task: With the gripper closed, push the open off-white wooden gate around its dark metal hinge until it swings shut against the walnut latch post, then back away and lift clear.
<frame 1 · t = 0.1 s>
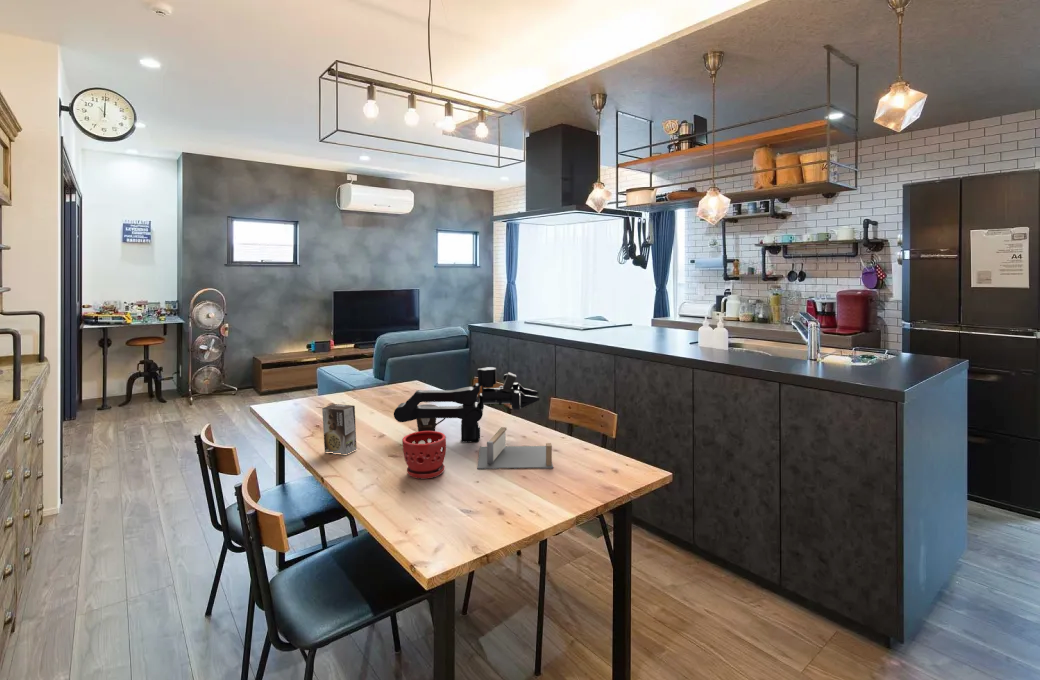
hand: (538, 395, 204), 17 cm above the table, tool horizontal, fingers open, 9 cm apart
gate frame: (514, 457, 186), on the table
coffee box: (340, 452, 192), on the table
gate: (497, 444, 185), point 5 cm above the table, hinge at 75.0°
coffee mug: (430, 433, 214), on the table
plant pot: (425, 474, 171), on the table
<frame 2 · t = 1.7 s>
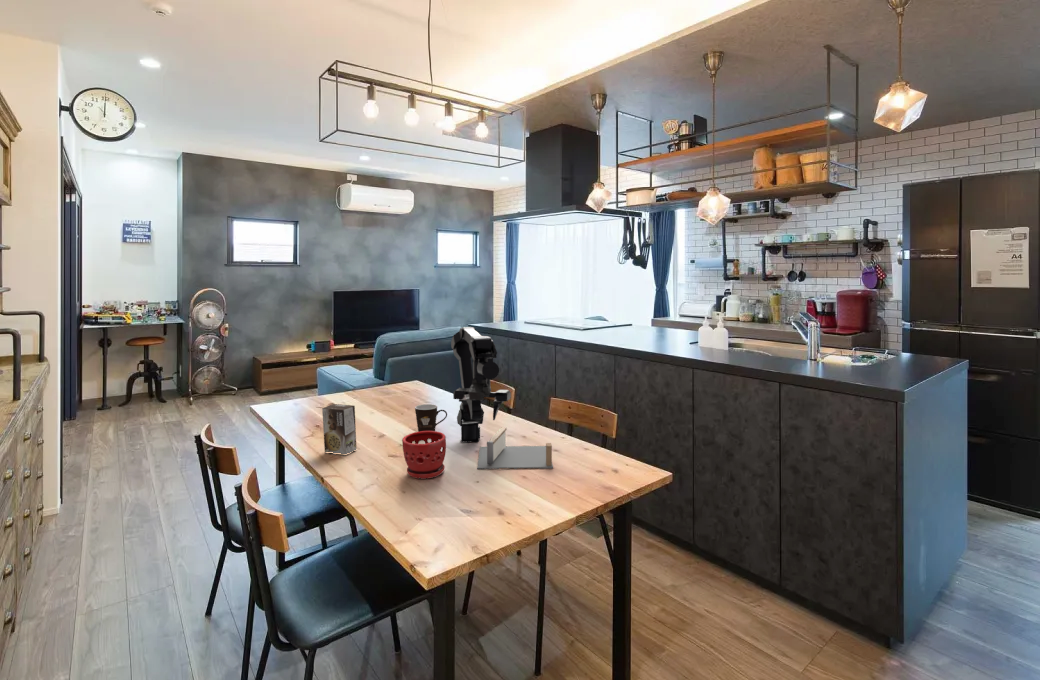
hand: (482, 419, 188), 12 cm above the table, tool pointing down, fingers open, 8 cm apart
nothing on the table moved.
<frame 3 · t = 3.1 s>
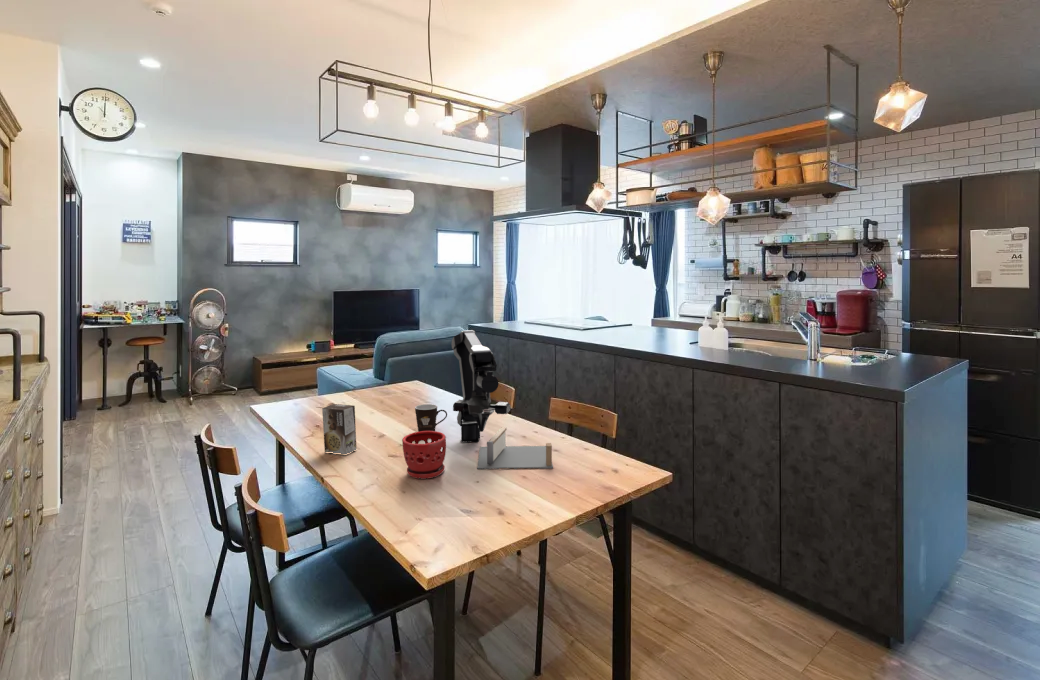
hand: (481, 431, 189), 8 cm above the table, tool pointing down, fingers closed
nothing on the table moved.
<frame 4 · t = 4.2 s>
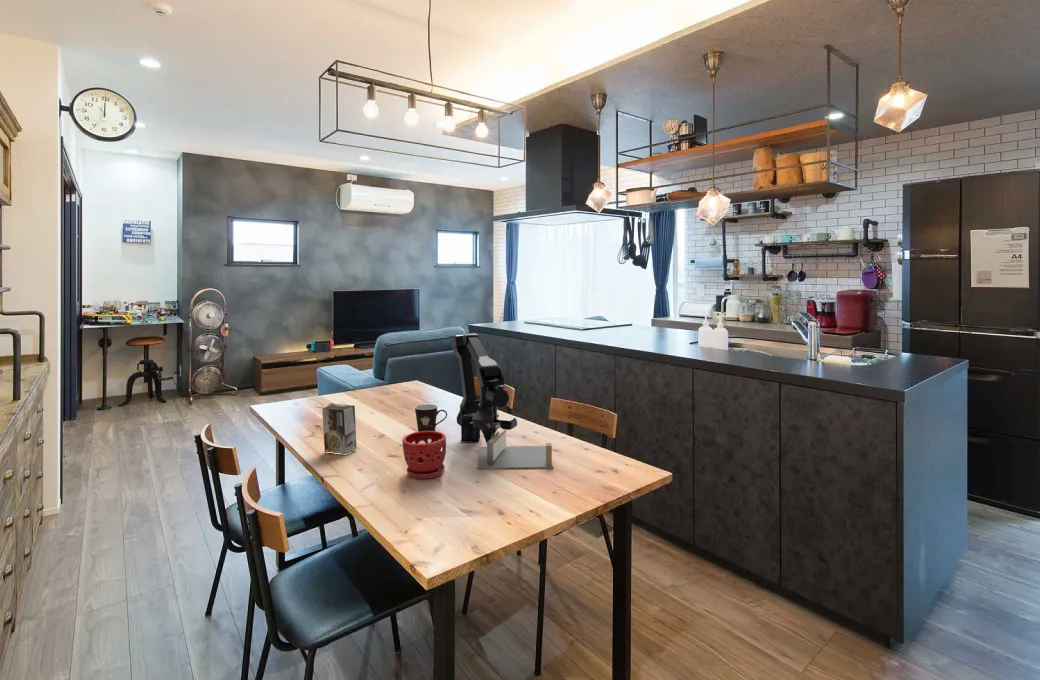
hand: (488, 445, 189), 3 cm above the table, tool pointing down, fingers closed
gate: (497, 444, 185), point 5 cm above the table, hinge at 74.2°, touching gripper
everything else where it was.
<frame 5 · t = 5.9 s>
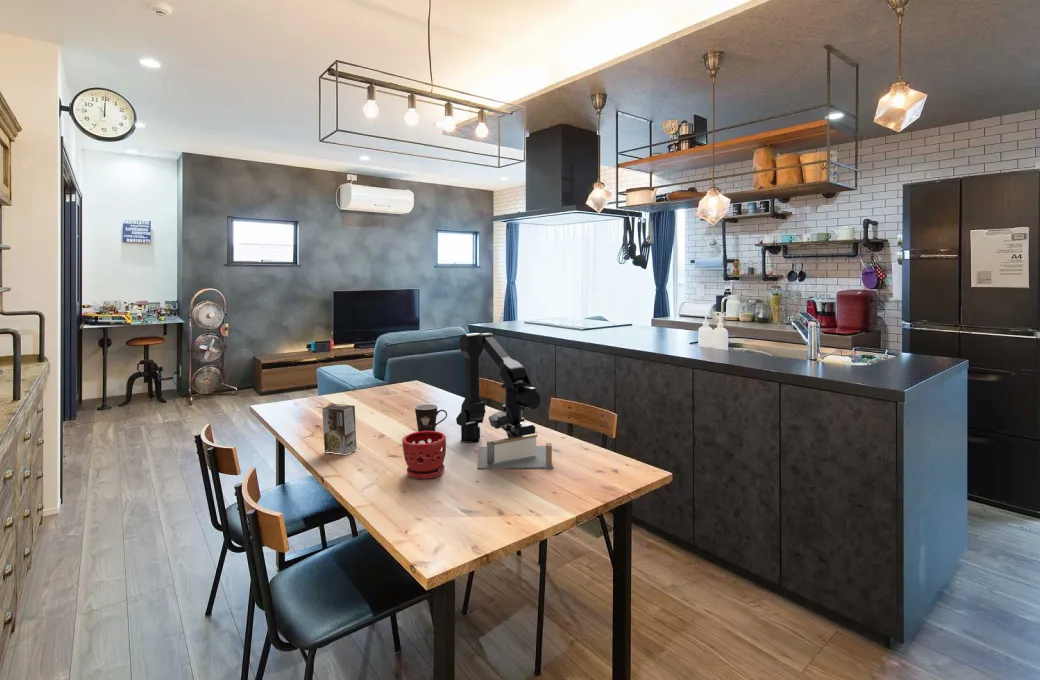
hand: (512, 448, 186), 3 cm above the table, tool pointing down, fingers closed
gate: (512, 448, 181), point 5 cm above the table, hinge at 29.9°, touching gripper
everything else where it was.
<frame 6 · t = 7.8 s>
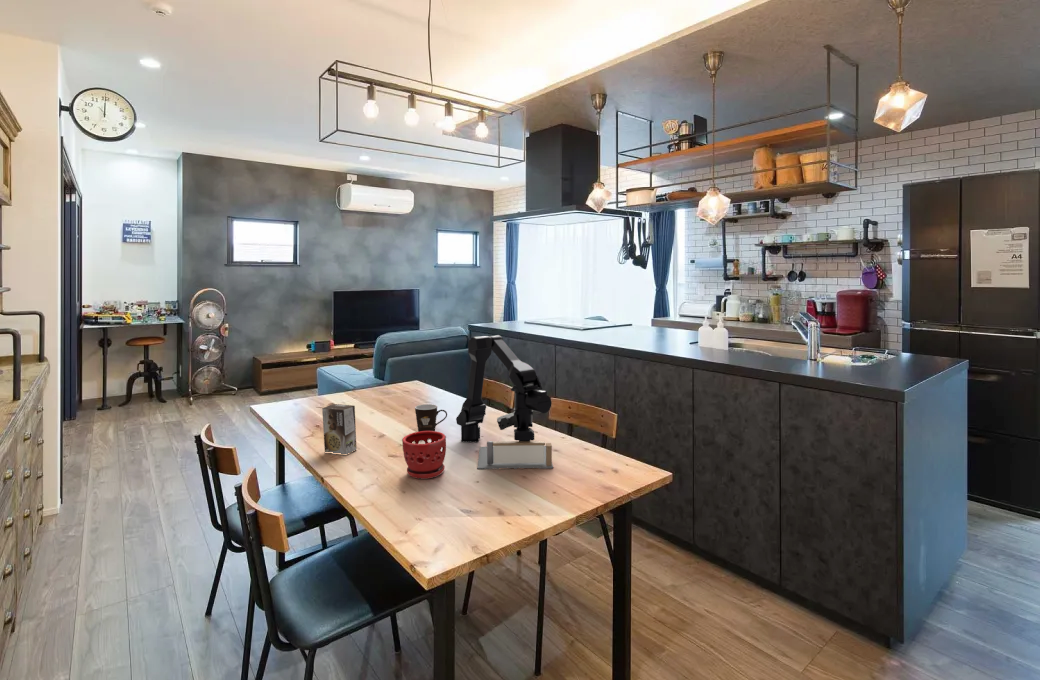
hand: (522, 452, 181), 3 cm above the table, tool pointing down, fingers closed
gate: (516, 452, 177), point 5 cm above the table, hinge at -0.4°, touching gripper
everything else where it was.
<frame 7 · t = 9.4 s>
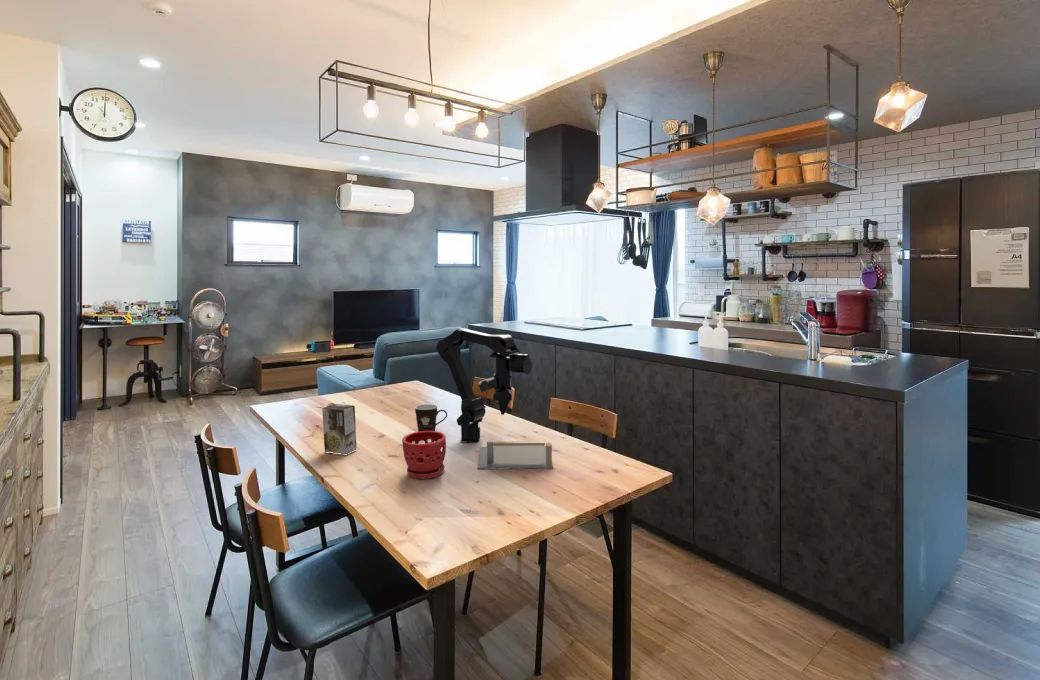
hand: (502, 414, 196), 12 cm above the table, tool pointing down, fingers closed
gate: (516, 452, 177), point 5 cm above the table, hinge at -0.4°
everything else where it was.
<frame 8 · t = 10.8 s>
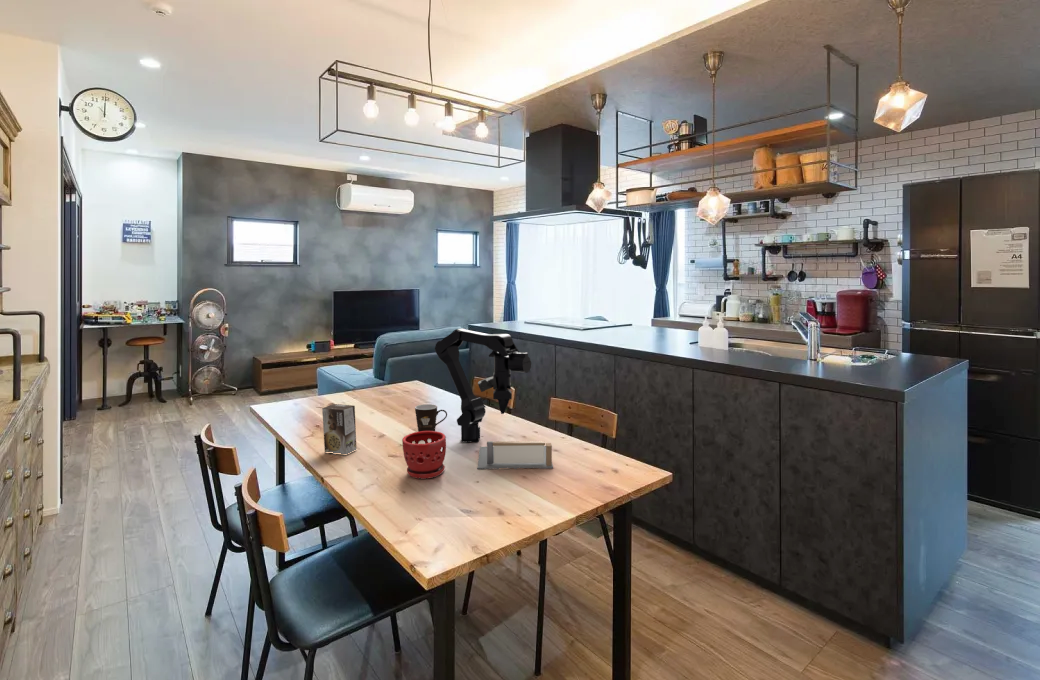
hand: (502, 413, 196), 12 cm above the table, tool pointing down, fingers closed
nothing on the table moved.
at the end: gate at +0° (first picture: +75°); plant pot moved 0.3 cm from its start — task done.
